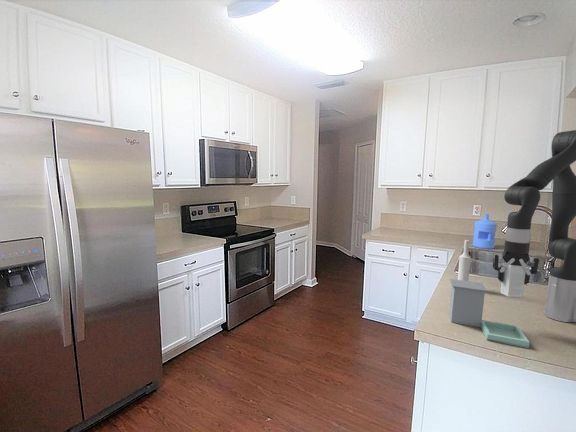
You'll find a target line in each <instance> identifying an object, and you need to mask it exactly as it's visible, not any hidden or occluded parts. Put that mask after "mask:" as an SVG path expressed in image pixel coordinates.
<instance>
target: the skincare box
mask: <svg viewBox="0 0 576 432" xmlns="http://www.w3.org/2000/svg"><path fill="white" fill-rule="evenodd" d="M502 263H503V262H502ZM503 264H504V265H505V264H506V263H503ZM503 273H504V275H503V282H501V284H500V293H501V294H502V295H504V296H506V297H509V298H513V297H516V298H517V297H518V298H519V297H520V298H521V297H524V292H525V285H526V284H525V274H526V272H525V270H524V268H523V267H522V266H518V265H508V268H506V269H505V270H504V271H503Z"/></svg>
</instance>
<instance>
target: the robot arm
mask: <svg viewBox="0 0 576 432" xmlns="http://www.w3.org/2000/svg"><path fill="white" fill-rule="evenodd" d="M575 162H576V129H574V130H565V131H559V132H558V133H556V134H555V135H554V136H553V138H552V140H551V157H549V158H547V159H546V160H544V161H542V162H541V163H539V164H538V165H536V166H534V168H533V169H532V170H531V171H530V172H529V173H528V174H527V175H526V176H524V177H522V178H521V179H520V180H518V181H516V182H514V183H513V184H512V185H510V186H509V187H507V189H506V191H505V192H504V200H505V202H506V203H507V204H508V205H512V206H521V207H520V209H519V210H518V211H512V212H509V213H508V215H507V222H506V223H507V225H506V230H505V233H504V234H505V235H504V245H503V253H502V254H498V253H493V254H492V255H493V256H492V269H493V270H495V271H497V280H498V281H499V282H503V275H504V273H503V271H504V270H505V269H506V268H508V265H518V266H522V267H523V268H524V270H525V272H526V274H525V284H524V285H525V286H526V285H528V284H530V280H531V279H530V278H531V276H532V275H537V274H538V269H539V263H540V259H539V258H538V257H536V256H533V257H532V256H529V253H530V244H531V237H532V236H531V228H532V219H533V216H534V214H535V212H536V209H537V207H538V206H539V203H540V200H541V192H540V191H542V190H544V189H545V188H546V187H548V186H549V184H550V183H551V182H552V195H551V197H552V198H551V222H550V229H549V235H548V236H549V237H548V241H547V250H548V251H547V252H548V254H549V255H550V257H553V258H555V259H558V260H562V261H563V263H562V265H561V266H554V267H551V268H550V270H549V277H548V281H547V282H548V283H547V284H548V285H547V290H546V297H545V306H544V311H543V314H544V316H546V318H549V319H552V320H556V321H558V322H564V323H576V238H571V237H569V228H570V224H571V223H572V221H573V220H574V219H575V218H576V174H575V172H574V171H573V170H572V168H571V165H573V163H575ZM501 259H503V260H504V261H502V263H501V265H500V266H499V261H500V260H501ZM528 262H530V263H531V264H530V265H531V266H530V269H529V267H528V266H527V263H528ZM503 263H506V264H505V265H504V264H503Z"/></svg>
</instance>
